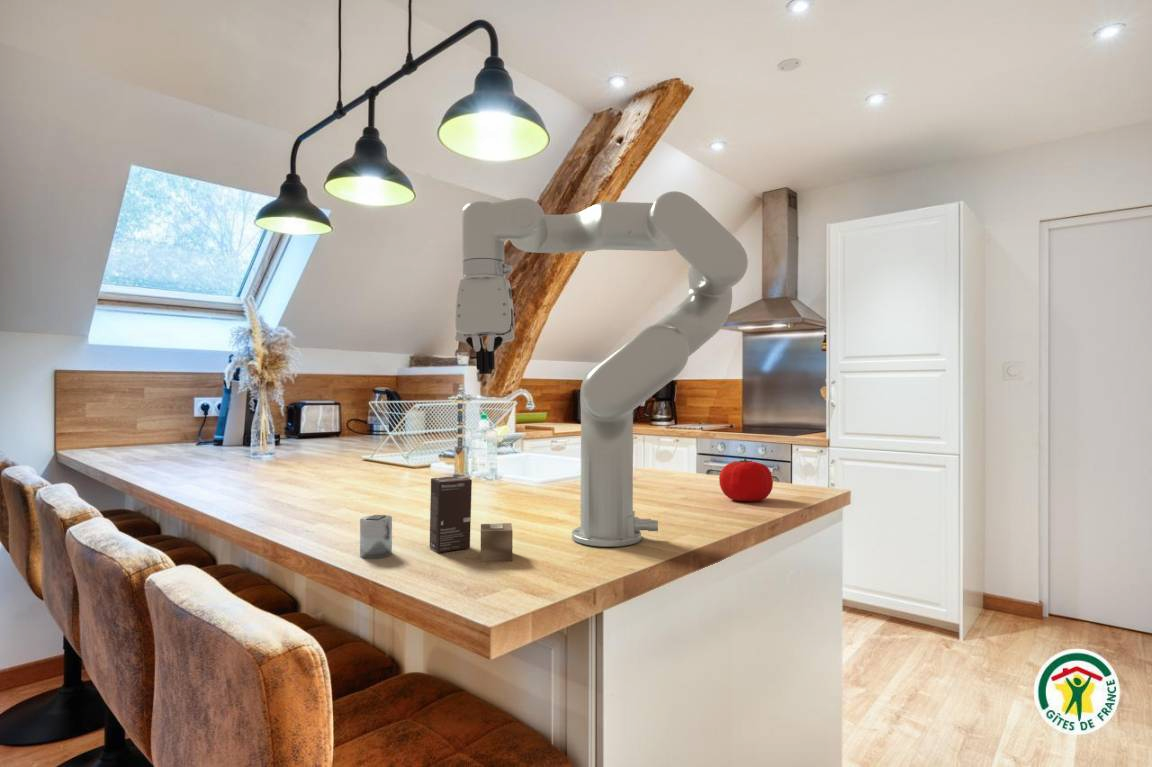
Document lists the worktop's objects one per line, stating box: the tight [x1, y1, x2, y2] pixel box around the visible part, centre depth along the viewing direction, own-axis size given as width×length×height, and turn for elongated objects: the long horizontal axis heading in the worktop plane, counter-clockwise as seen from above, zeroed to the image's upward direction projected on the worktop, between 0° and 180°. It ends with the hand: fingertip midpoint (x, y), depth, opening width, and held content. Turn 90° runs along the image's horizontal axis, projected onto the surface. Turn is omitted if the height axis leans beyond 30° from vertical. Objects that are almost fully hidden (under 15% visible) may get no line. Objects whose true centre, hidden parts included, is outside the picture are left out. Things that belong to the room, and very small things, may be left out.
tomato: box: [718, 458, 774, 502], centre depth 149 cm, size 11×13×10 cm
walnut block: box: [480, 522, 513, 563], centre depth 100 cm, size 5×5×5 cm
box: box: [429, 475, 473, 554], centre depth 105 cm, size 6×4×12 cm
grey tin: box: [359, 514, 393, 560], centre depth 101 cm, size 5×5×6 cm
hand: (485, 373), depth 112 cm, fingers closed
